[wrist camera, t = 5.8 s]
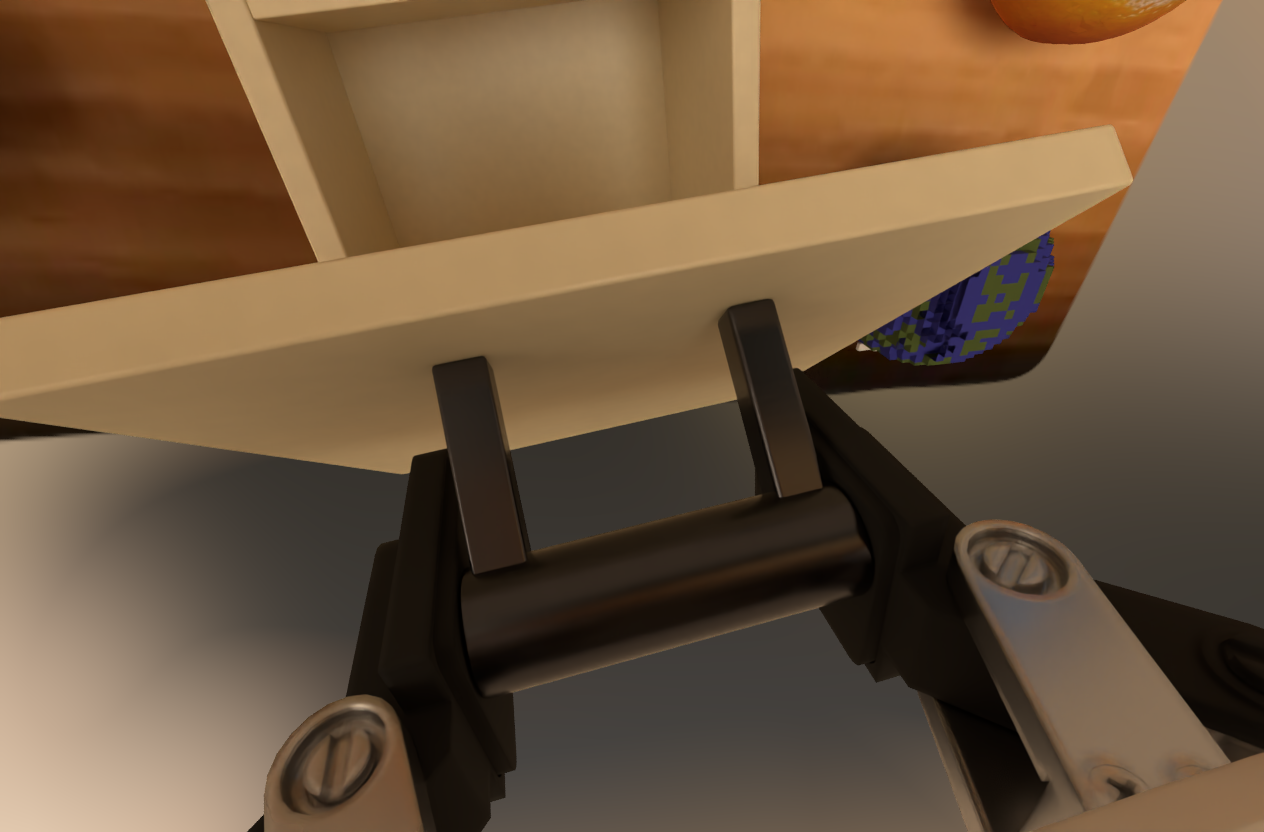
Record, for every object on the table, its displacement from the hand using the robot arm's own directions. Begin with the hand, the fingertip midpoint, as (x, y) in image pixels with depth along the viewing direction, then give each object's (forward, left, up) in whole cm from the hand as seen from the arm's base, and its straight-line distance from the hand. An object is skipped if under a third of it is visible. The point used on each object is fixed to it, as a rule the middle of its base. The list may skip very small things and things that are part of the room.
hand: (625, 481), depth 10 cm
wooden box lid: (-1, 0, -3) cm, 4 cm away
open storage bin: (-2, 0, -17) cm, 17 cm away
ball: (+3, +16, -17) cm, 23 cm away
